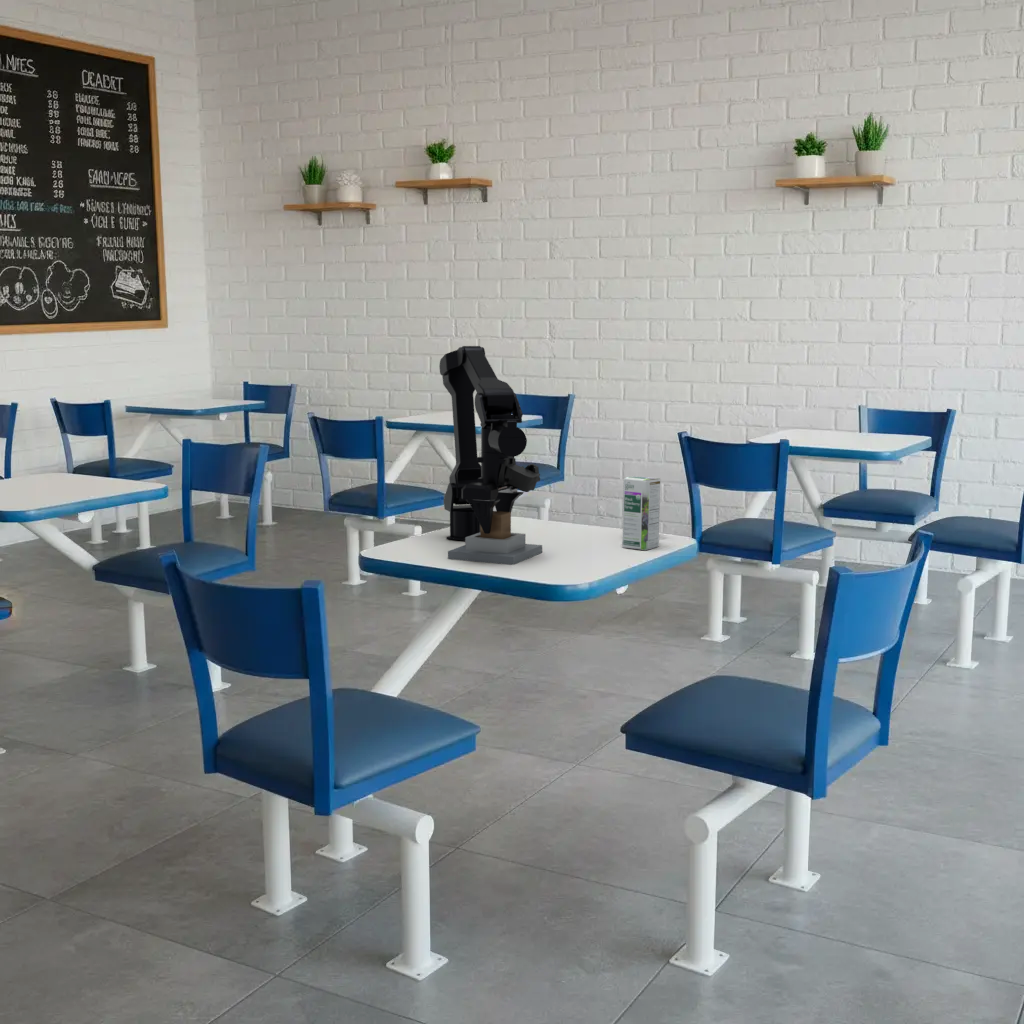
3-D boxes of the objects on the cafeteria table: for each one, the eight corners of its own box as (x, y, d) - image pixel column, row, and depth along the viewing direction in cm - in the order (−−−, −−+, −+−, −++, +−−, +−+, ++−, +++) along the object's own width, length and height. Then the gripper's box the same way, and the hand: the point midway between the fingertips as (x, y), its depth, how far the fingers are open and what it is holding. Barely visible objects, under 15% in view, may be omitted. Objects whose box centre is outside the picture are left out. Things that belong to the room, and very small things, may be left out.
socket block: (447, 558, 237) (447, 538, 237) (479, 547, 250) (479, 527, 249) (513, 564, 232) (513, 543, 231) (542, 552, 244) (542, 532, 244)
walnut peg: (480, 549, 239) (480, 513, 238) (490, 545, 243) (490, 510, 242) (501, 550, 238) (501, 515, 237) (510, 547, 242) (510, 512, 241)
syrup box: (621, 547, 250) (622, 477, 247) (636, 544, 254) (637, 474, 252) (645, 551, 246) (646, 479, 244) (659, 546, 251) (661, 477, 249)
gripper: (513, 458, 226) (513, 541, 228) (552, 449, 243) (551, 526, 245) (460, 455, 230) (460, 536, 233) (501, 446, 247) (501, 522, 250)
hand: (495, 530), depth 240 cm, fingers open, 7 cm apart
